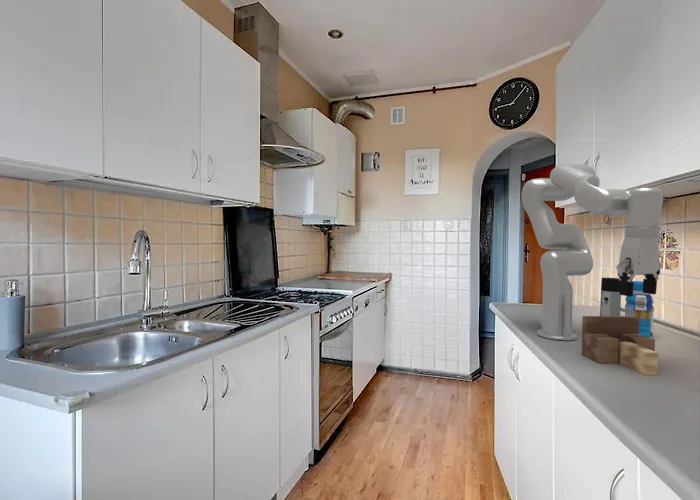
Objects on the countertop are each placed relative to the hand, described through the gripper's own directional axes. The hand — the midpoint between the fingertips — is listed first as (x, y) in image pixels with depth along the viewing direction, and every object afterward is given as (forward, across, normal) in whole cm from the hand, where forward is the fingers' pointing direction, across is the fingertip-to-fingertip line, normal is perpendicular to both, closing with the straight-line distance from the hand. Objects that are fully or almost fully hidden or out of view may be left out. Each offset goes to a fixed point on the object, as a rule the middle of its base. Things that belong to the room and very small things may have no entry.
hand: (637, 294), depth 104 cm
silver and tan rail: (+20, +1, 0) cm, 20 cm away
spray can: (+22, -37, -32) cm, 53 cm away
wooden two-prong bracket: (+20, -1, -5) cm, 21 cm away
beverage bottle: (+22, -34, -20) cm, 45 cm away
